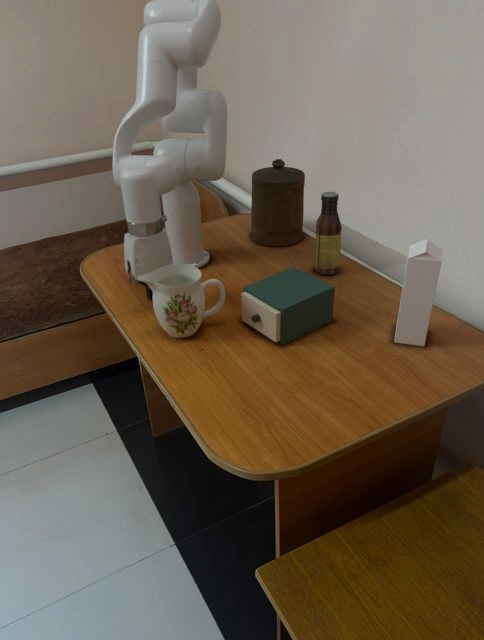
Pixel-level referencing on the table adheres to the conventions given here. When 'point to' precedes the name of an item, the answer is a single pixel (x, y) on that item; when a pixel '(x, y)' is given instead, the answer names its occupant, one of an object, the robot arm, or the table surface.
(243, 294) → the drawer
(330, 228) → the sauce bottle
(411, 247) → the milk
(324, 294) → the cabinet
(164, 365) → the table surface
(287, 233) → the wooden container
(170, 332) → the pitcher
